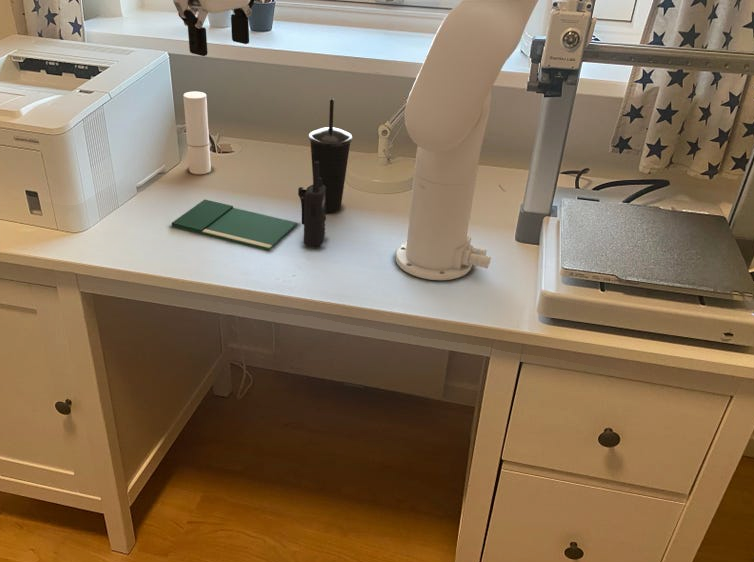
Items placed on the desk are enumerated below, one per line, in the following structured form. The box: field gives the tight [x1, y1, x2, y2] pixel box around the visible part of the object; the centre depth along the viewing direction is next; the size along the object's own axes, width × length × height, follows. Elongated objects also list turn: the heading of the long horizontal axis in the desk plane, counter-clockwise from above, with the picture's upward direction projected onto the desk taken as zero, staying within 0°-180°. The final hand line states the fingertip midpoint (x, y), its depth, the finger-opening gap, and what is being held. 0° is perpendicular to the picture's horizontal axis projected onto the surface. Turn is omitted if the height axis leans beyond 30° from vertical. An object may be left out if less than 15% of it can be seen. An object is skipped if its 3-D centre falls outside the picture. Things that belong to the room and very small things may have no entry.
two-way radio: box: [297, 161, 327, 249], centre depth 125 cm, size 6×4×15 cm
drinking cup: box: [308, 98, 353, 214], centre depth 135 cm, size 8×8×20 cm
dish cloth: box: [171, 199, 298, 251], centre depth 133 cm, size 19×11×1 cm, turn 67°
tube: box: [182, 90, 212, 175], centre depth 148 cm, size 4×4×15 cm
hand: (220, 48), depth 119 cm, fingers open, 9 cm apart
